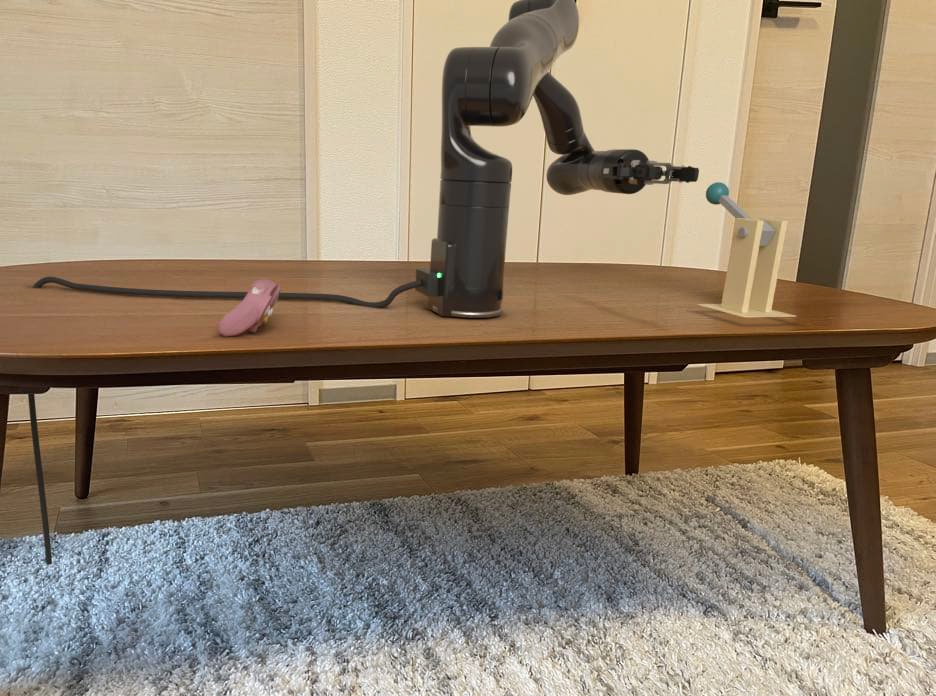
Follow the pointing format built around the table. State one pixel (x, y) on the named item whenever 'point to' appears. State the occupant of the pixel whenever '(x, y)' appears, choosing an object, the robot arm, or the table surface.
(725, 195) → the lever
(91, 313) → the table surface
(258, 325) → the pink rounded piece
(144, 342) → the table surface
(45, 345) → the table surface
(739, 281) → the bracket
